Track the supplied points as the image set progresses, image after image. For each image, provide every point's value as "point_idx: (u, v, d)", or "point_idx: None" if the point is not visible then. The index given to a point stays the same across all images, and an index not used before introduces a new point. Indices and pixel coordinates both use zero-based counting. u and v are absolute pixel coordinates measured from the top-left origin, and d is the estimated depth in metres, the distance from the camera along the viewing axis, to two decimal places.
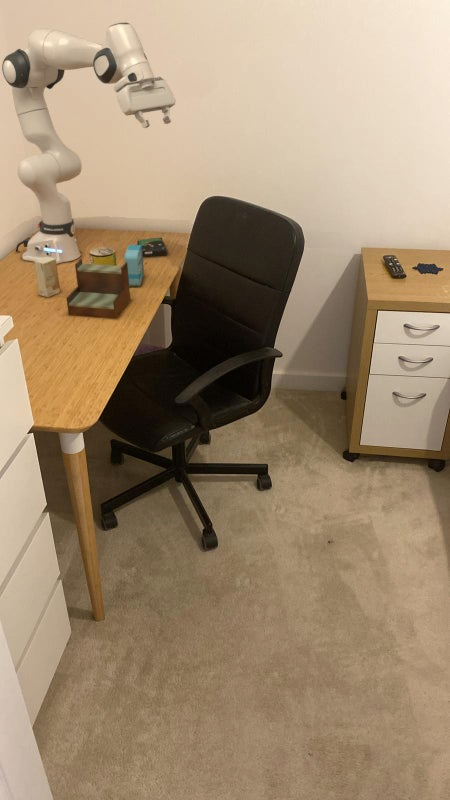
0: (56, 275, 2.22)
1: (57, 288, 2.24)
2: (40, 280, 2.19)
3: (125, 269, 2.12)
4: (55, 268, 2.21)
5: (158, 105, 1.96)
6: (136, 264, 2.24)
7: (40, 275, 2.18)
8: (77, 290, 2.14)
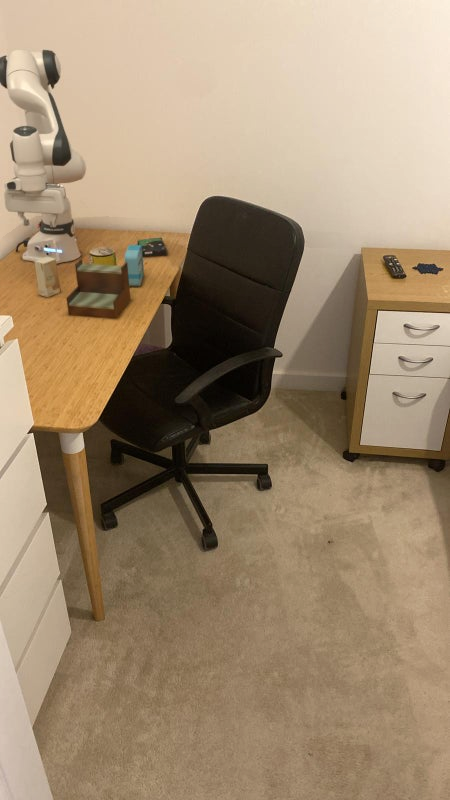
0: (56, 275, 2.22)
1: (57, 288, 2.24)
2: (40, 280, 2.19)
3: (125, 269, 2.12)
4: (55, 268, 2.21)
5: (40, 212, 2.07)
6: (136, 264, 2.24)
7: (40, 275, 2.18)
8: (77, 290, 2.14)
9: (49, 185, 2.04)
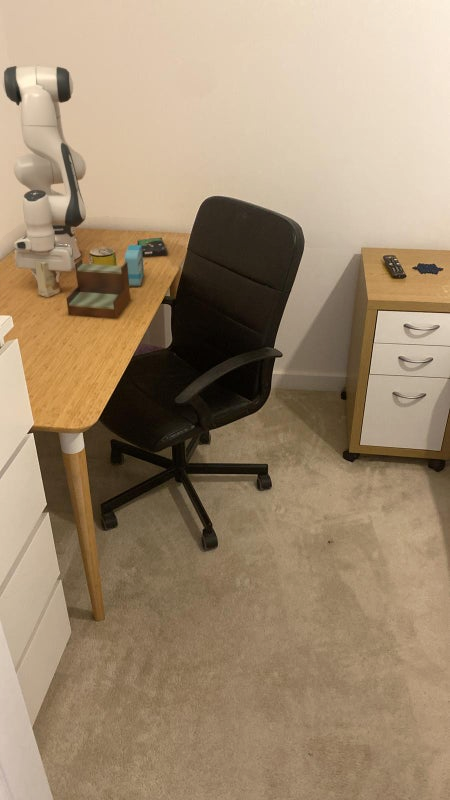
0: (56, 275, 2.22)
1: (57, 288, 2.24)
2: (40, 280, 2.19)
3: (125, 269, 2.12)
4: None
5: (48, 269, 2.18)
6: (136, 264, 2.24)
7: (40, 275, 2.18)
8: (77, 290, 2.14)
9: (57, 245, 2.14)
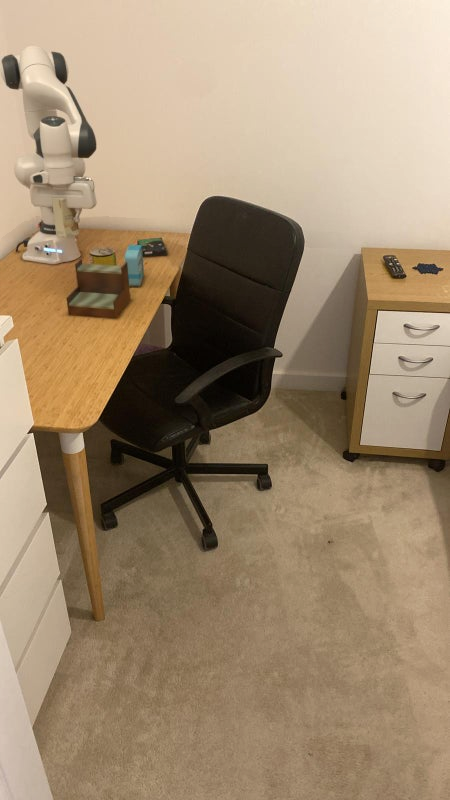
0: (75, 214, 2.02)
1: (76, 229, 2.04)
2: (58, 219, 2.00)
3: (125, 269, 2.12)
4: None
5: (67, 206, 1.98)
6: (136, 264, 2.24)
7: (58, 213, 1.99)
8: (77, 290, 2.14)
9: (77, 178, 1.94)
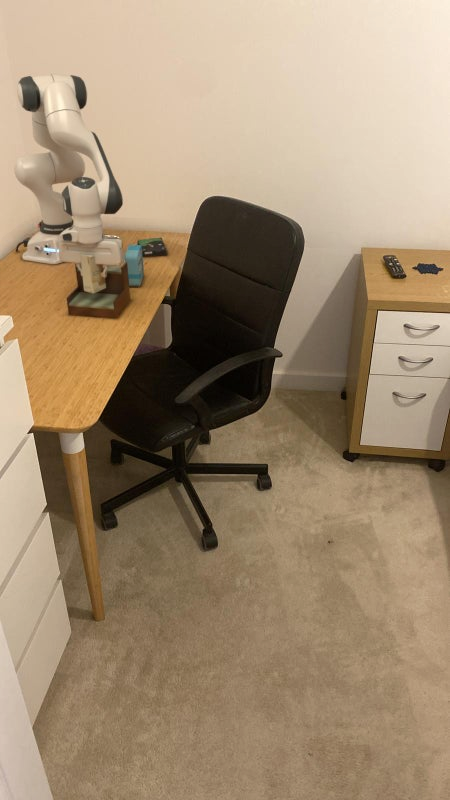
0: (102, 269, 2.06)
1: (103, 283, 2.08)
2: (86, 275, 2.04)
3: (125, 269, 2.12)
4: None
5: (95, 263, 2.02)
6: (136, 264, 2.24)
7: (86, 269, 2.03)
8: (77, 290, 2.14)
9: (106, 236, 1.98)
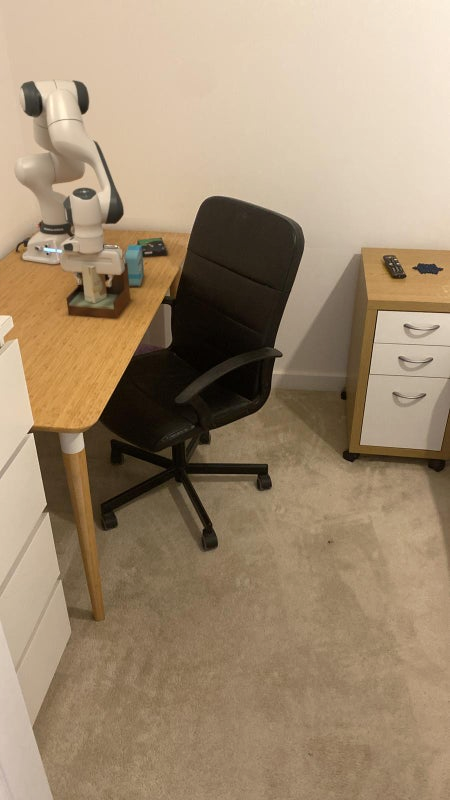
0: (103, 279, 2.08)
1: (104, 293, 2.10)
2: (87, 285, 2.05)
3: (125, 269, 2.12)
4: None
5: (96, 272, 2.04)
6: (136, 264, 2.24)
7: (87, 280, 2.04)
8: (77, 290, 2.14)
9: (107, 246, 2.00)
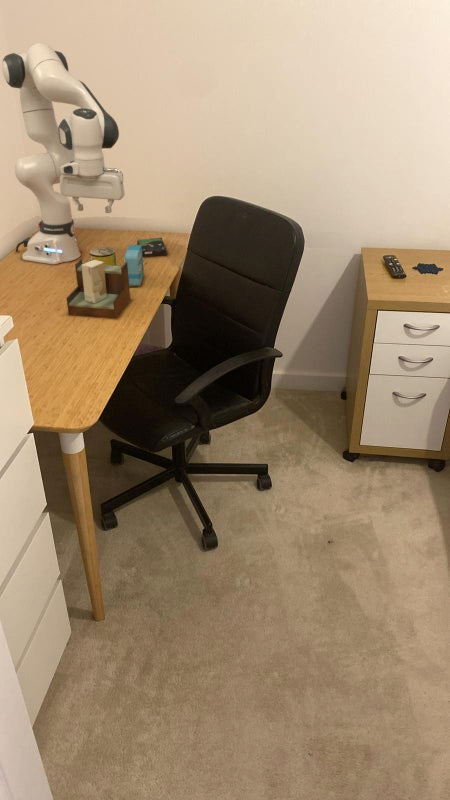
0: (103, 279, 2.08)
1: (104, 293, 2.10)
2: (87, 285, 2.05)
3: (125, 269, 2.12)
4: (103, 272, 2.07)
5: (96, 197, 2.03)
6: (136, 264, 2.24)
7: (87, 280, 2.04)
8: (77, 290, 2.14)
9: (107, 170, 1.99)
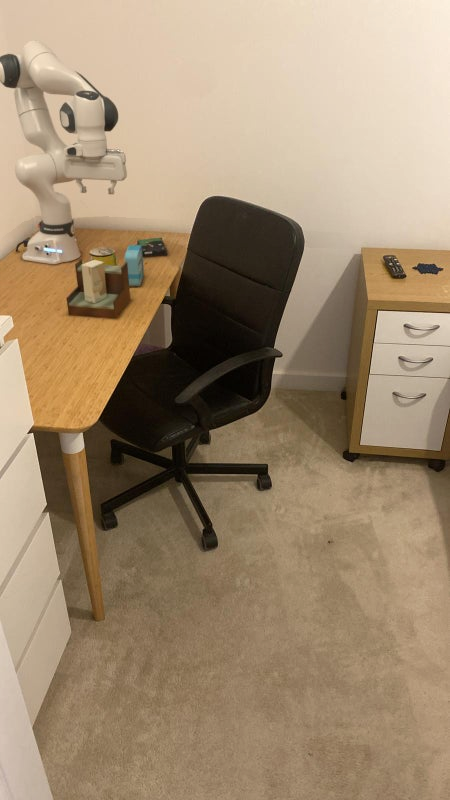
0: (103, 279, 2.08)
1: (104, 293, 2.10)
2: (87, 285, 2.05)
3: (125, 269, 2.12)
4: (103, 272, 2.07)
5: (99, 178, 2.06)
6: (136, 264, 2.24)
7: (87, 280, 2.04)
8: (77, 290, 2.14)
9: (109, 151, 2.03)
